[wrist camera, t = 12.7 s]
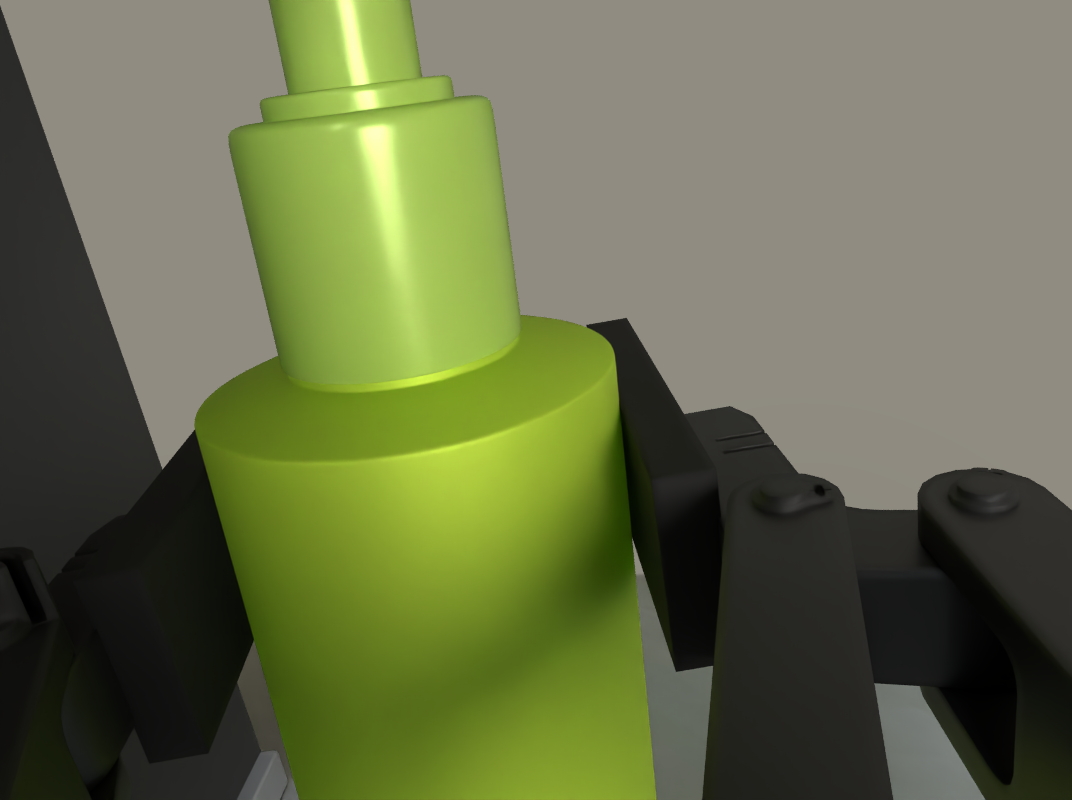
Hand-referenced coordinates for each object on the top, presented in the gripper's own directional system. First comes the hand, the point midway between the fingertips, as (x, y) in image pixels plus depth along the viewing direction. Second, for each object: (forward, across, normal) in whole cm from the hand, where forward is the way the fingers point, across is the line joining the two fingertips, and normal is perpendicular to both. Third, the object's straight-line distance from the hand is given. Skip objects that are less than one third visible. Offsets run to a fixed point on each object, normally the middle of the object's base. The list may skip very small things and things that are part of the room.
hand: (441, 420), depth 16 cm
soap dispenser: (-4, 0, -11) cm, 12 cm away
